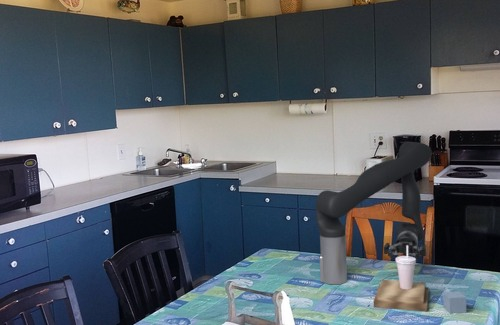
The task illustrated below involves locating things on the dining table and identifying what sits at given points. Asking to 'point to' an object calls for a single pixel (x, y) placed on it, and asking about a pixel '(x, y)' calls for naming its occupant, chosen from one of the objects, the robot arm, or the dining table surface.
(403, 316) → the dining table surface
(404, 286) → the smoothie
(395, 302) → the plinth
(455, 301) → the slate cube
